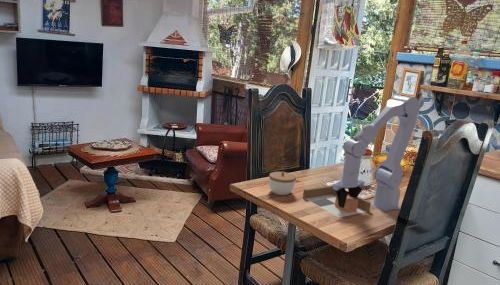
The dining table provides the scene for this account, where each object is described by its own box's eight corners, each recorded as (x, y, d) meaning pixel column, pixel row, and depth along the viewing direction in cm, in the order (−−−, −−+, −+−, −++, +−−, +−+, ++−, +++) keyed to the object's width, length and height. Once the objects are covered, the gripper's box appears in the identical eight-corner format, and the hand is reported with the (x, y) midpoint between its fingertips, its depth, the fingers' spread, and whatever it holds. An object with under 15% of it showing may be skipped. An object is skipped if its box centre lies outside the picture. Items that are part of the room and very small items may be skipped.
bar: (334, 205, 144) (336, 194, 143) (343, 204, 146) (344, 193, 145) (348, 212, 138) (349, 201, 137) (356, 210, 140) (358, 199, 139)
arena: (332, 194, 158) (333, 185, 157) (369, 212, 141) (370, 202, 140) (302, 199, 149) (303, 189, 148) (338, 219, 133) (339, 208, 132)
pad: (325, 198, 150) (326, 198, 150) (335, 203, 146) (335, 203, 146) (310, 201, 146) (310, 201, 146) (320, 206, 141) (320, 206, 141)
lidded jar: (262, 192, 153) (264, 170, 151) (279, 187, 161) (281, 166, 159) (282, 200, 146) (284, 177, 144) (299, 195, 153) (301, 173, 151)
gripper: (356, 166, 146) (351, 199, 149) (329, 169, 138) (324, 204, 141) (370, 172, 140) (365, 206, 143) (342, 175, 132) (337, 211, 135)
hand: (345, 205), depth 142 cm, fingers closed on bar, 4 cm apart
